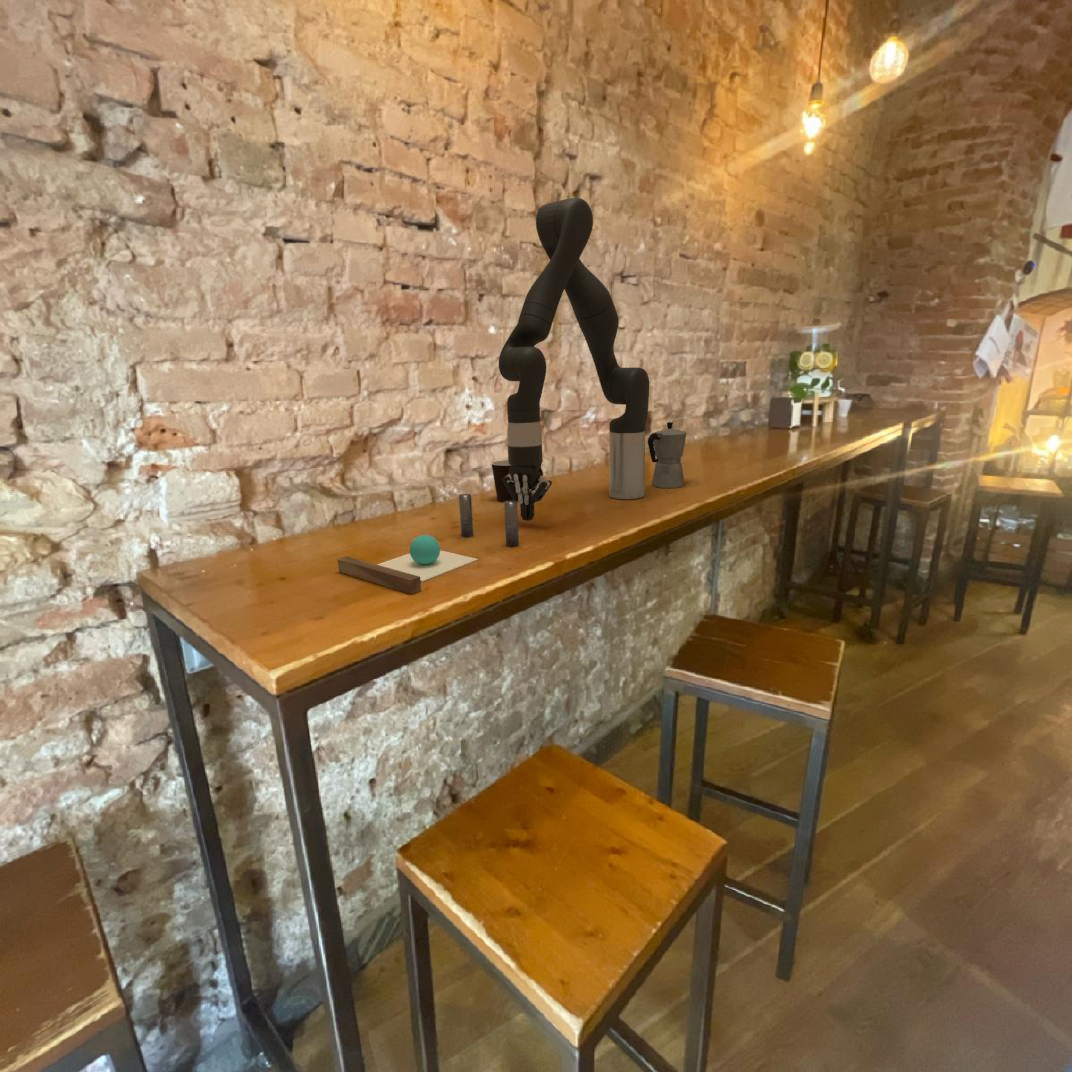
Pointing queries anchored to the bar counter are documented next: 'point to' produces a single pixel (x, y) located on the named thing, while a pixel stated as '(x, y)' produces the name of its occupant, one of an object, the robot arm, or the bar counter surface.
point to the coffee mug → (499, 472)
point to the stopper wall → (380, 575)
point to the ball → (424, 549)
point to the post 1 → (466, 515)
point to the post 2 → (511, 523)
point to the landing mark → (432, 570)
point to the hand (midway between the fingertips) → (527, 519)
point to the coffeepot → (667, 457)
